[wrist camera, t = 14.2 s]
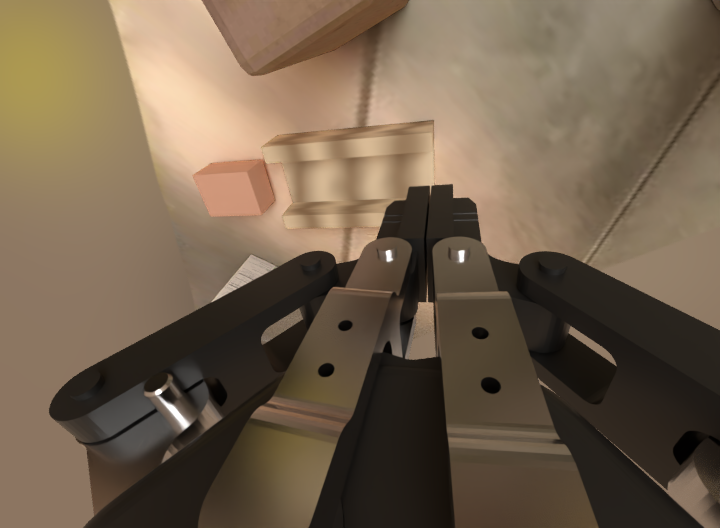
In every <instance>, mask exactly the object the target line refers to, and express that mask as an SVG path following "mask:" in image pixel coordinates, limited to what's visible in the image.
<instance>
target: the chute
mask: <svg viewBox="0 0 720 528" xmlns="http://www.w3.org/2000/svg"><path fill="white" fill-rule="evenodd" d="M261 149H262V153H263V156H264V159H265V162H266V164H270V163H282V166H283V170H284V173H285V177H286V181H287V184H288V188H289V191H290V195H291V198H292V202H293V203H292V204H291V205H290V207H289V208H288V209H287V210H286V212H285V213H284V214H283V215H282V218H283V221H284V224H285V227H286V229H298V228H351V227H381V224H382V220H383V217H384V214H385V211H386V208H387V207H388V206H389V205H390V204H391V203H392V202H393V201H397V200H406V197H407V193H408V188H409V187H410V186H430V195H431V186H432V185H435V178H434V120H431V121H421V122H410V123H400V124H389V125H379V126H368V127H358V128H348V129H337V130H327V131H316V132H306V133H295V134H285V135H277V136H276V137H274V138H273V139H272V140H270V141H269V142H268V143H266V144H265V145H263V146H262V147H261Z"/></svg>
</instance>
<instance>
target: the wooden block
mask: <svg viewBox="0 0 720 528" xmlns="http://www.w3.org/2000/svg"><path fill="white" fill-rule="evenodd" d="M202 1H203V3H204V5H205V7H206V8H207V10H208V12H209V13H210V15H211V17H212V18H213V20H214V22H215V24H216V25H217V27H218V29H219V30H220V32H221V34H222V36H223V37H224V39H225V41H226V42H227V44H228V46H229V47H230V49H231V51H232V53H233V54H234V56H235V58H236V59H237V61H238V63H239V64H240V66H241V67H242V68H243V69H244V70H245V71H246V72H247V73H248V74H249V75H252V76H255V75H264V74H267V73H270V72H273V71H276V70H279V69H281V68H284V67H287V66H290V65H293V64H296V63H298V62H301V61H304V60H307V59H310V58H313V57H316V56H318V55H321V54H324V53H327V52H330V51H333V50H335V49H337V48H339V47H340V46H342V45H343V44H345V43H347V42H348V41H350V40H352V39H353V38H355V37H356V36H358V35H360V34H361V33H363V32H364V31H366V30H368V29H369V28H371V27H372V26H374V25H376V24H377V23H379V22H381V21H382V20H384V19H385V18H387V17H389V16H390V15H392V14H393V13H395V12H397V11H398V10H400V9H402V8H403V7H405V5H406V4H407V3H408V1H409V0H202Z"/></svg>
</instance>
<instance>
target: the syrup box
mask: <svg viewBox="0 0 720 528" xmlns="http://www.w3.org/2000/svg"><path fill="white" fill-rule="evenodd" d="M275 268H277V266H275V265H273V264H271V263H269V262H267V261H265V260H262V259H260V258H258V257H256V256H254V255H250V256H249V257H248V259H247V260H246V261H245V262H244V263H243V265H242V266H241V267H240V268H239V269H238V271H237V272H236V273H235V274H234V275H233V276H232V278H231V279H230V280H229V281H228V283H227V284H226V285H225V286H224V287H223V288H222V290H221V291H220V292H219V293H218V294H217V296H216V297H215V298H214V299H213V300H212V302H213V301H215V300H217V299H219V298H221V297H222V296H224V295H226V294H228V293H230V292H232V291H234V290H236V289H238V288H239V287H241V286H243V285H245V284H247V283H249V282H251V281H253V280H254V279H256V278H258V277H260V276H262V275H264V274H266V273H268V272H269V271H271V270H273V269H275Z"/></svg>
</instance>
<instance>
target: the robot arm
mask: <svg viewBox="0 0 720 528" xmlns="http://www.w3.org/2000/svg"><path fill="white" fill-rule="evenodd" d="M712 1H713V3H714V5H715V6H716V8H717V9H718V10H719V11H720V0H712ZM427 284H428V302H433V303H434V334H435V351H436V357H433V358H426V359H418V360H409V354H410V348H411V344H412V340H413V335H414V330H415V325H416V312H417V309H418V302H426V297H427ZM298 308H300V311H301V314H302V317H303V320H301V321H300V322H298V323H297V324H295V325H294V326H292V327H290V328H289V329H287V330H286V331H284V332H283V333H281V334H279V335H278V336H276V337H275V338H273V339H272V340H270V341H269V342H267V343H265V344H263V345H262V344H261V336H262V334H263V332H264V331H265V330H266V329H267V328H268V327H269V326H271V325H272V324H274V323H275V322H277V321H279V320H280V319H282V318H284V317H285V316H287V315H288V314H290V313H292V312H293V311H295V310H297V309H298ZM570 326H572V327H574V328H575V329H576V330H578V331H580V332H581V333H582V334H584V335H585V336H587V337H588V338H590V339H592V340H593V341H595V342H596V343H597V344H599V345H600V346H602V347H603V348H605V349H606V350H607V351H608V352H609V353H610V354H611V355H612V357H613V358H614V360H615V362H616V365H617V366H615V365H614V364H612V363H610V362H609V361H608V360H606V359H605V358H603V357H602V356H601V355H599V354H598V353H596V352H595V351H593V350H592V349H590V348H589V347H587V346H586V345H585V344H583V343H582V342H580V341H579V340H577V339H576V338H575V337H573V336H572V335H570V334H569V333H568V332H569V329H570ZM538 378H539V379H540V380H541V381H542V382H543V383H545V384H546V385H547V386H548V387H549V388H550V389H551V390H553V391H554V392H555V393H556V394H555V393H554V392H552V391H550V390H549V389H547V388H545V387H544V386H542V385H540V383H539V380H538ZM49 413H50V416H51V417H52V418H53V419H54V420H55V421H56V422H58V423H59V424H60V425H61V426H62V427H64V428H65V429H66V430H67V431H69V432H70V433H71V434H72V435H73V436H75V438H76V440H77V442H79V444H81V445H82V446H83V447H84V448H86V450H87V459H88V468H89V476H90V484H91V494H92V503H93V511H94V517H93V518H92V519H91V520H90V521H89V522H88V523H87V524H86V525H85V526H84V527H83V528H720V330H718V329H716V328H714V327H712V326H710V325H708V324H706V323H704V322H702V321H700V320H697V319H695V318H694V317H691V316H689V315H688V314H686V313H683V312H681V311H679V310H677V309H675V308H673V307H671V306H669V305H667V304H665V303H663V302H661V301H659V300H657V299H655V298H653V297H651V296H649V295H647V294H645V293H643V292H641V291H639V290H637V289H635V288H633V287H631V286H629V285H627V284H625V283H623V282H621V281H619V280H617V279H615V278H613V277H611V276H609V275H607V274H605V273H603V272H601V271H599V270H597V269H595V268H593V267H591V266H589V265H587V264H585V263H583V262H580V261H578V260H576V259H574V258H572V257H570V256H568V255H565V254H561V253H557V252H547V251H544V252H535V253H531V254H528V255H526V256H524V257H523V258H522V259H521V261H520V263H519V264H514V263H509V262H504V261H501V260H498V259H495V258H493V257H492V256H490V255H488V253H487V250H486V247H485V246H484V245H483V244H482V243H481V236H480V229H479V222H478V215H477V208H476V204H475V203H474V202H473V201H472V200H471V199H469V198H453V184H450V185H432V186H431V195H430V186H410V187H409V188H408V193H407V197H406V200H397V201H393V202H392V203H391V204H390V205H389V206H388V207H387V208H386V211H385V214H384V217H383V220H382V224H381V227H380V230H379V233H378V236H377V239H376V240H375V241H372V242H371V243H369V244H368V245H367V246H366V247H365V248H364V249H363V251H362V254H361V256H360V258H359V259H357V260H354V261H349V262H344V263H339V264H336V260H335V257H334V256H333V255H332V254H330V253H328V252H324V251H313V252H308V253H304V254H302V255H300V256H298V257H296V258H294V259H292V260H290V261H288V262H286V263H284V264H283V265H281V266H279V267H277V268H275V269H273V270H271V271H269V272H268V273H266V274H264V275H262V276H260V277H258V278H256V279H254V280H253V281H251V282H249V283H247V284H245V285H243V286H241V287H239V288H238V289H236V290H234V291H232V292H230V293H228V294H226V295H224V296H222V297H221V298H219V299H217V300H215V301H213V302H211V303H209V304H207V305H206V306H204V307H202V308H200V309H198V310H196V311H194V312H193V313H191V314H189V315H187V316H185V317H183V318H181V319H179V320H178V321H176V322H174V323H172V324H170V325H168V326H166V327H164V328H162V329H160V330H159V331H157V332H155V333H153V334H151V335H149V336H147V337H145V338H144V339H142V340H140V341H138V342H136V343H134V344H133V345H131V346H129V347H127V348H125V349H123V350H121V351H119V352H117V353H115V354H113V355H112V356H110V357H108V358H106V359H104V360H102V361H100V362H98V363H97V364H95V365H93V366H91V367H89V368H87V369H85V370H84V371H82V372H80V373H79V374H77V375H76V376H74V377H73V378H72V379H71V380H69V381H68V382H67V383H66V384H65V385H64V386H63V387H62V388H61V389H60V390H59V391H58V393H57V394H56V395H55V397H54V398H53V400H52V402H51V404H50V408H49ZM597 429H598V430H599V431H600V432H601V433H602V434H601V433H600V432H599V431H598V430H597ZM605 436H606V437H607V438H608V439H609V440H610V441H611V442H612V443H614V444H615V445H616V446H617V447H618V448H619V449H621V450H622V451H623V452H624V453H625V454H626V455H628V456H629V457H630V458H631V459H632V460H633V461H634V462H636V463H637V464H638V465H639V466H640V467H641V468H643V469H644V470H645V471H646V472H647V473H649V475H651V476H652V477H653V478H654V479H655V480H656V481H657V482H659V483H660V484H661V485H662V486H663V487H664V488H666V489H667V490H668V494H667V493H666V492H665V491H664V490H663V489H662V488H661V487H660V486H658V485H657V484H656V483H655V482H654V481H653V480H652V479H651V478H649V476H647V475H646V474H645V473H644V472H643V471H642V470H641V469H640V468H638V466H637V465H635V464H634V463H633V462H632V461H631V460H630V459H629V458H627V456H625V455H624V454H623V453H622V452H621V451H620V450H619V449H618V448H617V447H616V446H615V445H614V444H612V443H611V442H610V441H609V440H608V439H607V438H606V437H605Z"/></svg>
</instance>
